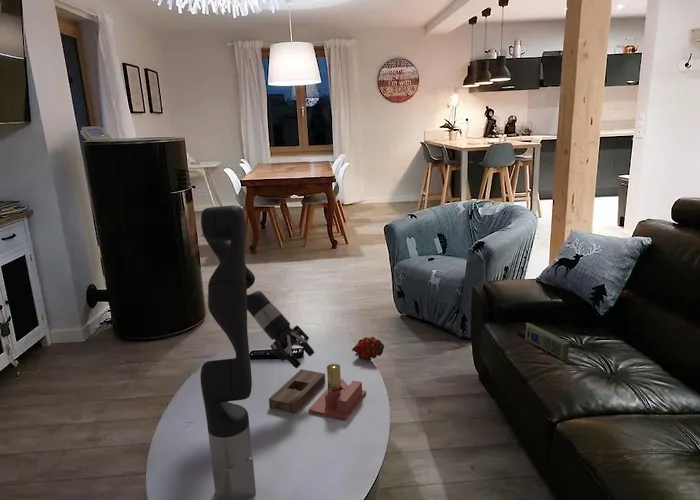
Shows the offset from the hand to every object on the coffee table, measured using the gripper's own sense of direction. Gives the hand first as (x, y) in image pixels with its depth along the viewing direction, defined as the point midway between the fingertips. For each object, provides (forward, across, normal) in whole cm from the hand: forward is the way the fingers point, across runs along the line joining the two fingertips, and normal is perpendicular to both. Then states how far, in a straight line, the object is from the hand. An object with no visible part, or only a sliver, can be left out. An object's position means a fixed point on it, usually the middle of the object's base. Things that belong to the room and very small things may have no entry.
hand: (305, 360), depth 155 cm
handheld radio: (+55, +63, -37) cm, 91 cm away
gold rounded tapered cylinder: (+15, 0, +1) cm, 15 cm away
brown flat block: (+6, 0, +11) cm, 13 cm away
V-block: (+16, 0, +2) cm, 16 cm away
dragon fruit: (+15, +31, +3) cm, 35 cm away
